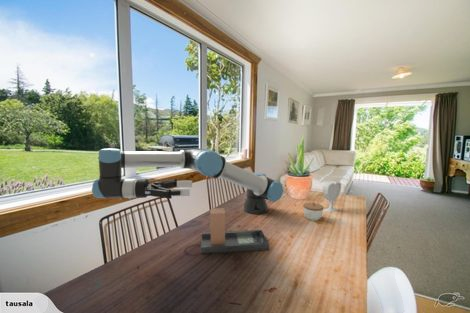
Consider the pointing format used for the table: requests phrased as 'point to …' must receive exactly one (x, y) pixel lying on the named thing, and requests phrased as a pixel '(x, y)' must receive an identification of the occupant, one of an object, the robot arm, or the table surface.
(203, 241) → the grey tray
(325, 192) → the heart sculpture
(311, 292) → the table surface
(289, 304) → the table surface
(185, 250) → the table surface
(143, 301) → the table surface
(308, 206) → the lidded jar
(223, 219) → the terracotta block
